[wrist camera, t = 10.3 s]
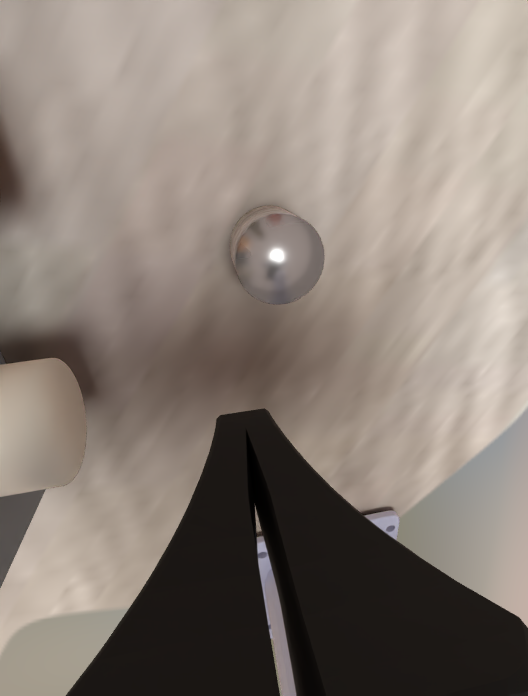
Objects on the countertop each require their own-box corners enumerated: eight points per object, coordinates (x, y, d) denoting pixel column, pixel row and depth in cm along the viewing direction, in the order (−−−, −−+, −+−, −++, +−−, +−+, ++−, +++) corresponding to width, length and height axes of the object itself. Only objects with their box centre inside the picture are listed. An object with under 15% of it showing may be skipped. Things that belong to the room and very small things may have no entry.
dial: (306, 277, 13) (325, 298, 11) (234, 287, 13) (241, 310, 11) (303, 201, 12) (323, 208, 10) (224, 210, 12) (230, 219, 10)
